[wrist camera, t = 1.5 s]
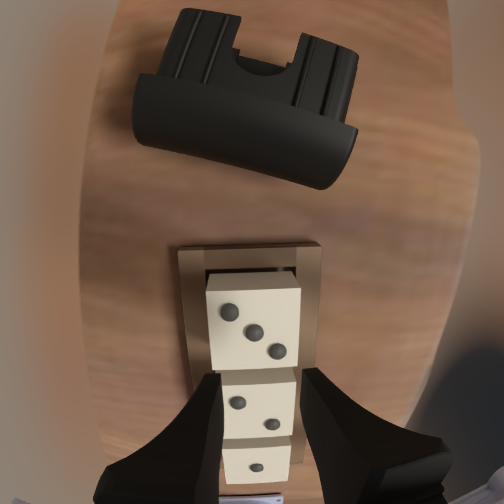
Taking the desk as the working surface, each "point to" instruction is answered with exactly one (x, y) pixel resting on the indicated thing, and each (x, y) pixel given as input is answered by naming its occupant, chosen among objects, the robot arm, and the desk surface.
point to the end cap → (249, 103)
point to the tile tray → (250, 261)
